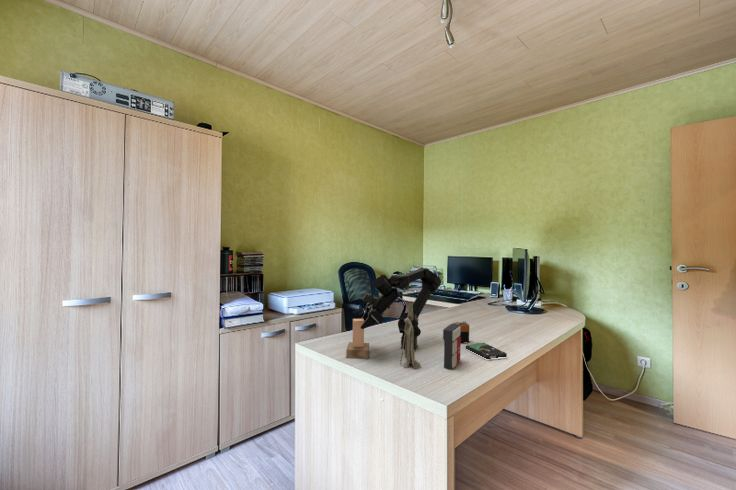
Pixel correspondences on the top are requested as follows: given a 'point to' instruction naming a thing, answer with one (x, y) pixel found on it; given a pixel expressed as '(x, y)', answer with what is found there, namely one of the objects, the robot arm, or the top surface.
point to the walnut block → (357, 351)
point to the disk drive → (486, 350)
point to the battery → (464, 331)
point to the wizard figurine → (409, 340)
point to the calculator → (451, 345)
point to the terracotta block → (358, 333)
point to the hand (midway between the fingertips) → (360, 325)
